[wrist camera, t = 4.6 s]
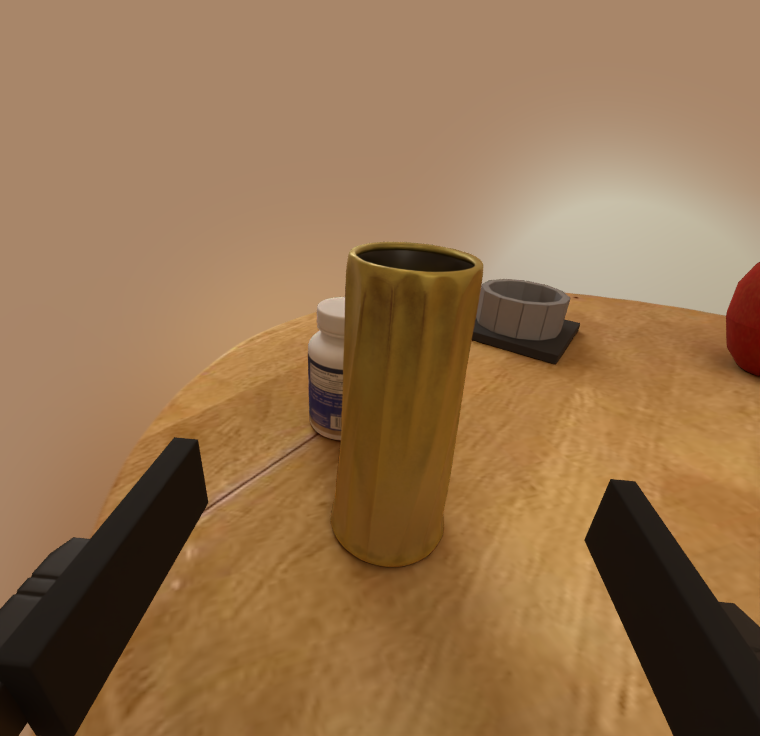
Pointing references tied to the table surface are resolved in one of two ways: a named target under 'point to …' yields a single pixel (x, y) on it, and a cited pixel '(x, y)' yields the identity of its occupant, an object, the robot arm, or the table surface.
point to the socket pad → (524, 319)
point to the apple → (745, 322)
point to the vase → (401, 395)
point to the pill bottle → (327, 368)
